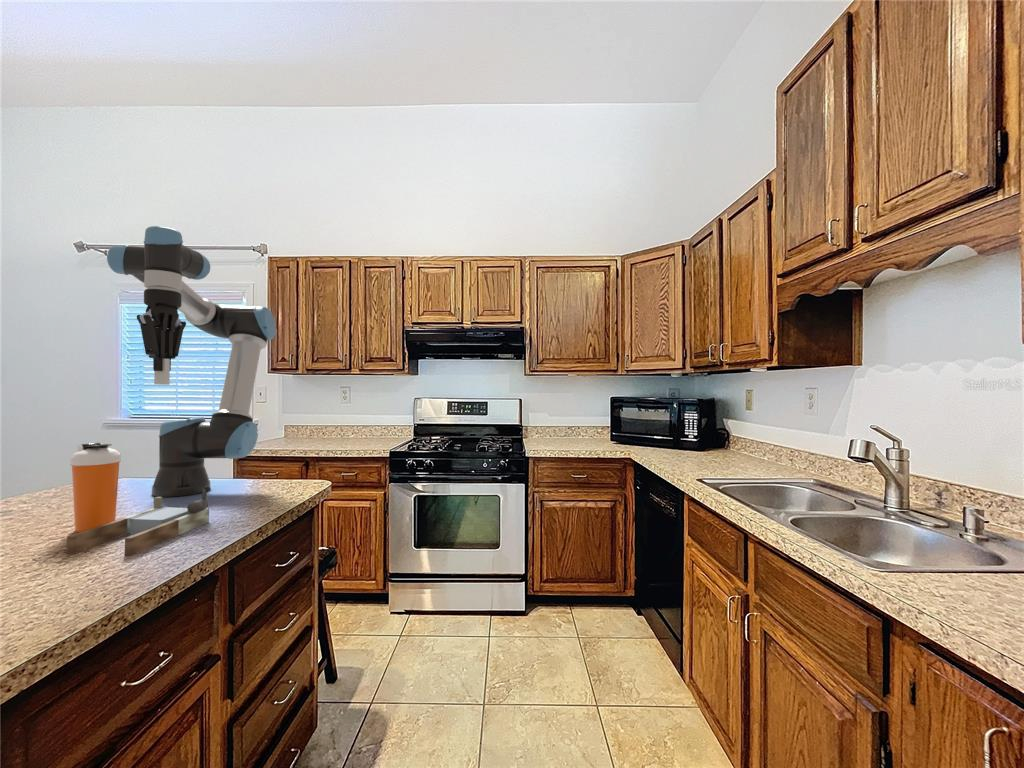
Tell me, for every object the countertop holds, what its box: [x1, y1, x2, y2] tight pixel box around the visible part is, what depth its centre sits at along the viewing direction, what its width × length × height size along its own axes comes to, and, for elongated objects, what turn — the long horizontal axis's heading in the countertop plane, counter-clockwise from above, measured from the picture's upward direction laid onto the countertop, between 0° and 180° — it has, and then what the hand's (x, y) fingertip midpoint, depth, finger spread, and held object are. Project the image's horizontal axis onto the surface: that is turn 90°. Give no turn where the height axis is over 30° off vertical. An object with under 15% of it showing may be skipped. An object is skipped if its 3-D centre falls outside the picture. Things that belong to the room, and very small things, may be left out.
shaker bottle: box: [70, 442, 122, 533], centre depth 109 cm, size 9×9×20 cm
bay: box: [66, 486, 211, 557], centre depth 104 cm, size 23×14×9 cm, turn 178°
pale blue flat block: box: [129, 506, 190, 536], centre depth 109 cm, size 10×8×4 cm
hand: (161, 384), depth 115 cm, fingers closed
